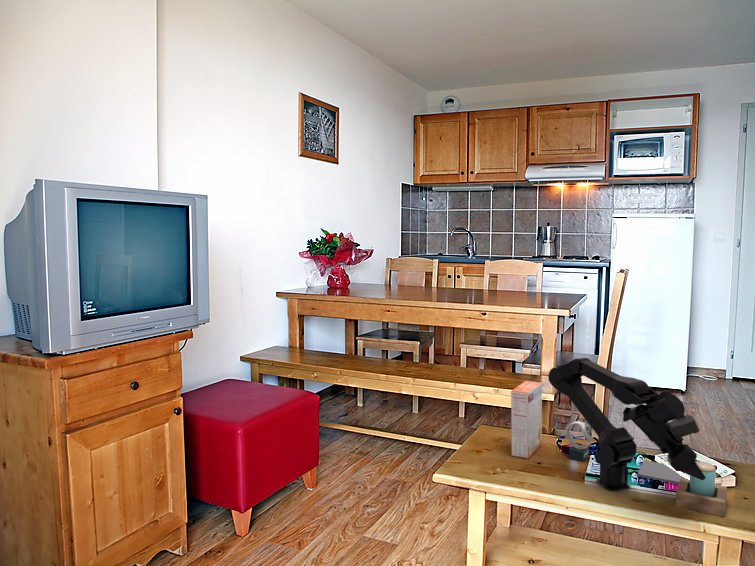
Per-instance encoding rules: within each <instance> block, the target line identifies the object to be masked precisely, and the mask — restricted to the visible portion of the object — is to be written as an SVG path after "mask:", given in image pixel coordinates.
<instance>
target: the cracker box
mask: <svg viewBox="0 0 755 566" xmlns="http://www.w3.org/2000/svg"><path fill="white" fill-rule="evenodd" d="M510 393H511V394H510V397H511V398H510V401H511V403H510V404H511V405H510V406H511V416H510V418H511V422H510V423H511V427H510V428H511V430H510V431H511V432H510V433H511V434H510V435H511V437H510V439H511V444H510V445H511V457H515V458H522V459H525V460H530V459H531V457H532V456H533V455H534V454H535V453H536V452H537V450H538V449H539V448H541V446H542V443H543V441H542V439H543V436H542V435H543V432H542V431H543V427H542V422H543V419H542V418H543V417H542V416H543V413H542V412H543V410H542V409H543V383H542V382H538V381H531V380H525V381H523V382H521V384H519V385H517V387H515V388H513V389H512V390H511V392H510Z"/></svg>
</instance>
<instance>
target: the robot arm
mask: <svg viewBox="0 0 755 566" xmlns="http://www.w3.org/2000/svg"><path fill="white" fill-rule="evenodd" d="M547 377H548V382H549V383H550V385H551V387H553V388H554V389H555V390H556V391H558V392H559V393H561V394H562V395H564V396H566V397H568V399H569V400H570V401H571V402H572V403H573V405H574V407H576V409H577V410H578V412H579V413H580V414H581V416H582V417H583V419H585V421H586V423H587V424H588V425H589V426H590V428H591V430H592V431H594V433H595V434H596V436H597V438H598V440H597V441H598V447H599V449H600V450H599V451H597V452H596V453H595V454H594V455H593V456H594V460H595V463H596V464H598V465H599V478H596V479H595V481H596V482H597V483H598V484H600V486H602V487H604V488H605V489H607V490H609V491H615V490H616V491H617V490H624V489H630V488H631V485H629V484H628V482H629V468H628V464H631V463H632V462H633V459H634V457H636V455H637V447H638V446H637V443H635V438H634V437H633V436H632V435H630V432H629V431H628V430H627V429H626V428H625V427H624V426H623V427H618V428H617V427H616V426H614V425H613V424H612V423H611V421H610V420H609V419H608V418H607V416H606V415H605V414H604V413H603V411H602V410H601V409H600V408H599V406H598V405H597V404H596V402H595V401H594V399H592V397H591V396H590V395H589V394H588V392H587V391H586V390H585V388H584V387H583V380H582V377H585V378H587V379H589V380H591V381H593V382H594V383H596V384H599V385H600V386H602V387H604V388H606V389H608V390H609V391H610V392H611V393H612V396H613V397H614V398H616V399H617V400H618V401H620V403H622V404H624V405H626V406H627V405H628V407H625V408H624V410H623V411H622V415H623V416H622V418H623V419H622V421H623V422H628V421H632V423H633V424H635V426H637V427H638V428H639V429H640V431H641V432H643V434H645V436H646V437H647V438H648V440H649V441H650V442H652V443H654V445H655V446H657V447H658V449H659V450H660V451H661V452H662V454H663V455H665V454H667V456H666V457H667V458H666V459H667V462H668V463H669V464H668V465H671V466H672V467H673V468H674V469H675V470H676V471H681V472H683V473H686V474H688V475H691V476H693V477H696V478H698V479H700V480H704V479H705V478H706V477H705V475H704V474H703V472H702V471H701V470H700V468H699V467H698V465H697V464H696V462H695V461H697V460H696V459H697V457H698V454H697V453H696V452H695V450H693V448H692V447H690V445H689V444H686V443H685V444H684V443H683V441H684V438H683V437H686V436H689V435H692V434H697V433H699V432H701V431H700V428H699V426H698V424H697V421H696V419H695V418H694V417H693V416H692V415H691V414H689V413H688V414H686V415H685V412H686V410H685V404H684V402H683V401H681V399H680V398H679V397H678V396H677V395H674V394H673V393H672V391H671V389H667V390H663V391H662V392H659V393H658V392H656V391H655V390H654V389H652V388H651V387H649V385H648V383H647V382H646V381H644V380H643V379H639V378H635V377H630V376H623V375H620V374H618V373H616V372H614V371H611V370H610V369H608V368H607V367H604V366H602V365H600V364H597V363H596V362H594V361H592V360H591V359H590V358H587V357H579V358H574V359H573V360H571V361H569V362H567V363H565V364H563V365H560V366H555V367H552V368H550V370H549V372H548V376H547ZM629 405H635V406H634V407H629Z"/></svg>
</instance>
